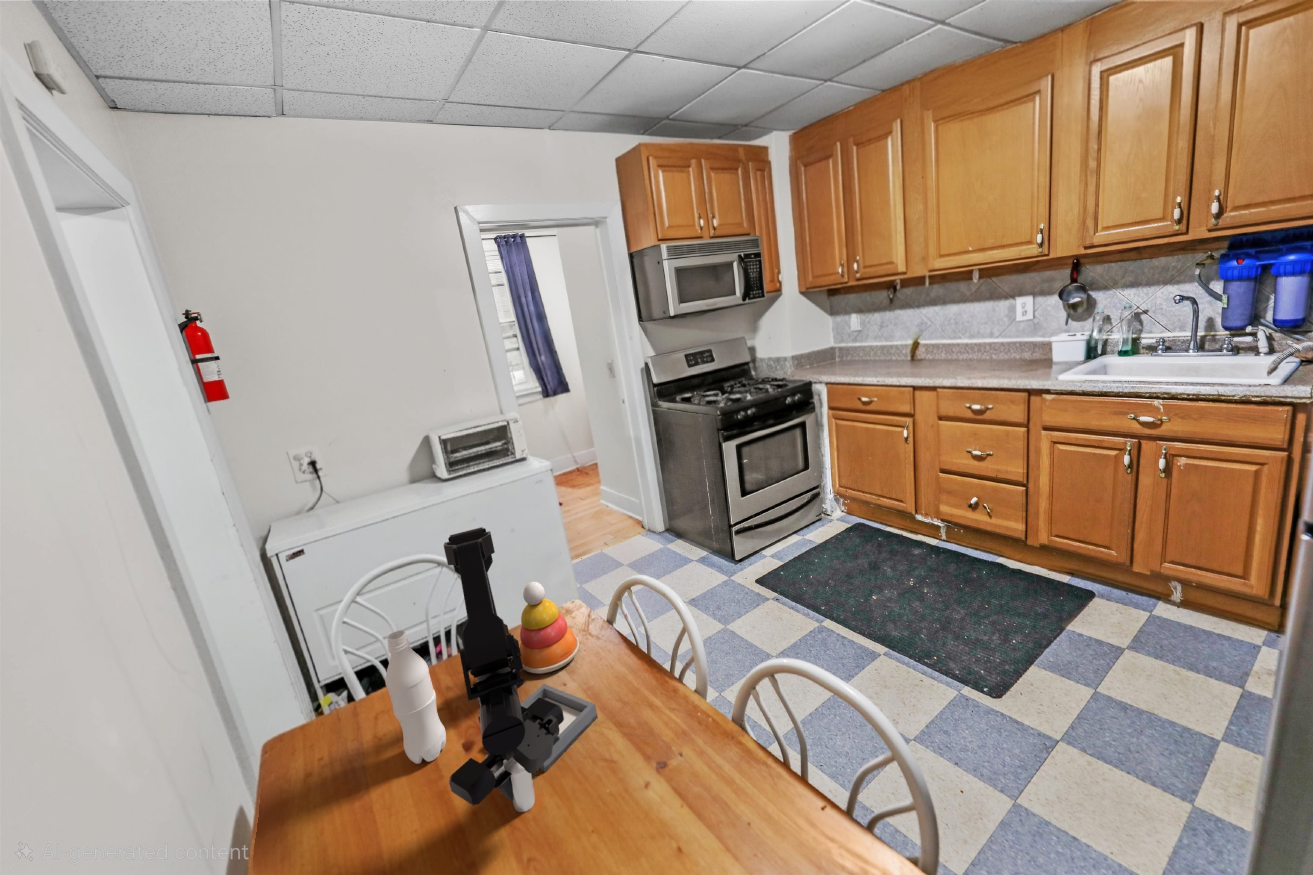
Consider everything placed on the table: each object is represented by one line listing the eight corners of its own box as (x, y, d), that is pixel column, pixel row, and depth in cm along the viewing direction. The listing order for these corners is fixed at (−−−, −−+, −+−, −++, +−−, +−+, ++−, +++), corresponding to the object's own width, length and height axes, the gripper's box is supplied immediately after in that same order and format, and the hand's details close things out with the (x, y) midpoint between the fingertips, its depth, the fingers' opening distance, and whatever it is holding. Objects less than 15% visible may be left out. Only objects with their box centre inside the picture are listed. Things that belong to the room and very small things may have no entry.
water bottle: (434, 769, 97) (400, 647, 91) (399, 767, 98) (364, 647, 93) (456, 738, 104) (426, 623, 98) (423, 737, 105) (392, 623, 100)
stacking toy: (561, 631, 135) (547, 560, 130) (592, 654, 124) (578, 577, 119) (508, 660, 126) (491, 584, 122) (536, 687, 115) (519, 605, 111)
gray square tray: (493, 744, 101) (489, 730, 100) (546, 696, 112) (543, 683, 111) (545, 772, 93) (542, 757, 92) (597, 717, 104) (595, 704, 103)
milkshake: (524, 784, 91) (513, 734, 89) (545, 799, 87) (533, 748, 85) (502, 805, 88) (489, 753, 85) (522, 821, 84) (509, 768, 82)
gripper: (485, 772, 71) (509, 864, 75) (579, 684, 86) (595, 764, 90) (436, 743, 78) (460, 829, 81) (531, 666, 93) (548, 742, 96)
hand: (520, 789), depth 87 cm, fingers closed on milkshake, 4 cm apart
